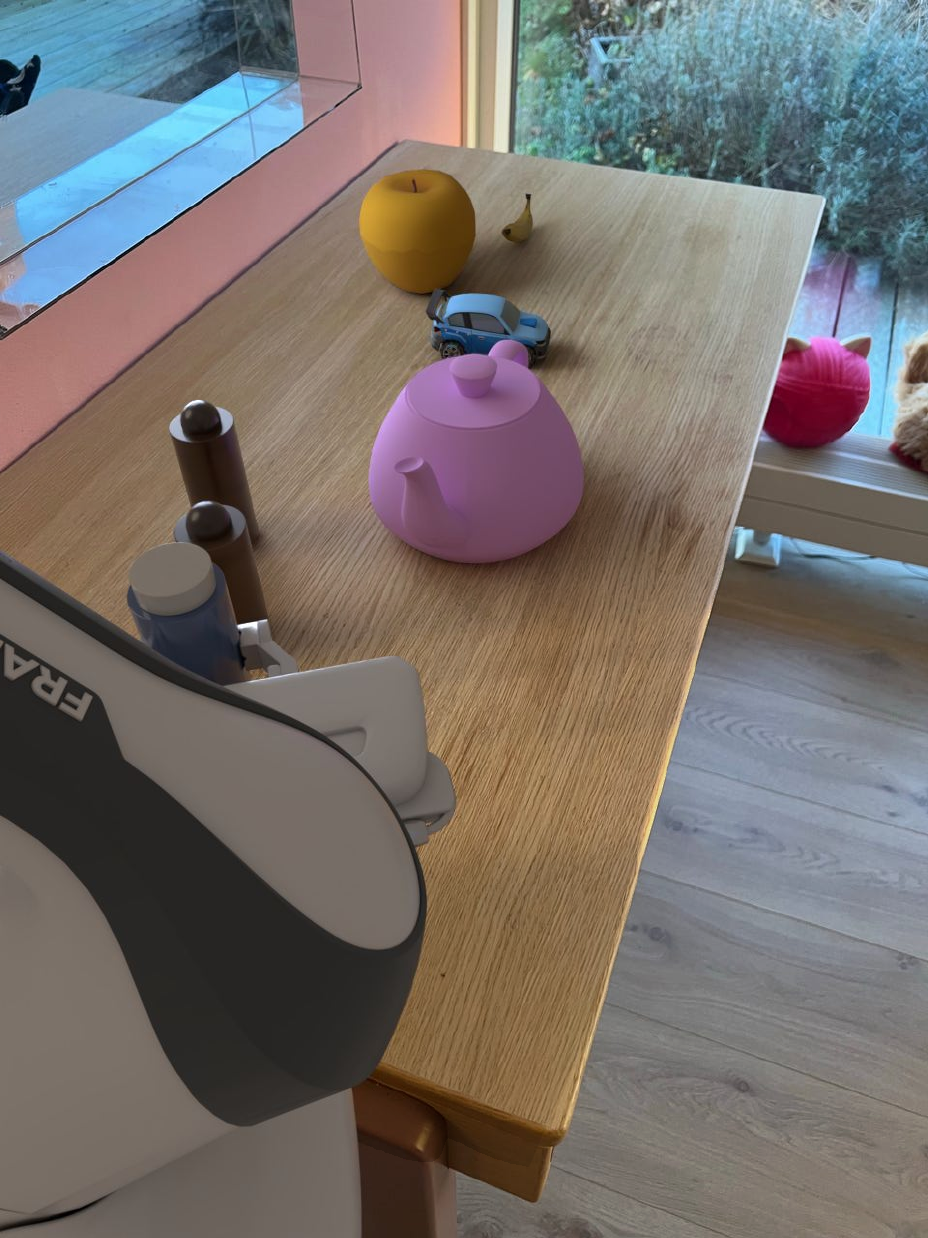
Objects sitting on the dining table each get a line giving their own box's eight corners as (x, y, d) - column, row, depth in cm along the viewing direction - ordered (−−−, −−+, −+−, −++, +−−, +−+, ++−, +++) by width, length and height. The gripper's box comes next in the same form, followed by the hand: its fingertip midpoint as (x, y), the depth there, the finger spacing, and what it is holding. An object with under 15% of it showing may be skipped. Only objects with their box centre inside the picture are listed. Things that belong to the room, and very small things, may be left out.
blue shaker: (163, 754, 52) (97, 584, 44) (215, 696, 55) (162, 525, 46) (232, 785, 51) (177, 615, 42) (281, 724, 54) (240, 552, 45)
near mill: (194, 651, 74) (151, 516, 65) (233, 610, 77) (197, 475, 68) (247, 672, 72) (211, 537, 63) (285, 629, 75) (255, 494, 66)
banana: (517, 262, 116) (517, 228, 113) (497, 260, 117) (497, 226, 114) (538, 225, 123) (539, 192, 120) (519, 223, 124) (519, 191, 121)
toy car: (545, 371, 100) (547, 319, 95) (427, 363, 101) (424, 312, 97) (551, 341, 104) (553, 289, 100) (438, 334, 105) (435, 283, 101)
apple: (345, 295, 112) (332, 192, 104) (396, 246, 120) (389, 147, 112) (450, 316, 108) (445, 210, 100) (496, 264, 116) (495, 162, 108)
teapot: (429, 415, 95) (421, 278, 85) (612, 450, 90) (625, 309, 80) (310, 587, 78) (283, 443, 69) (526, 641, 74) (530, 494, 64)
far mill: (188, 544, 82) (149, 412, 73) (223, 510, 85) (190, 379, 76) (236, 561, 81) (202, 428, 72) (270, 526, 84) (241, 394, 75)
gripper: (464, 790, 39) (400, 557, 48) (-96, 903, 36) (-46, 632, 45) (468, 875, 43) (408, 647, 53) (-30, 982, 40) (3, 720, 50)
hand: (195, 640), depth 49 cm, fingers closed on blue shaker, 4 cm apart
